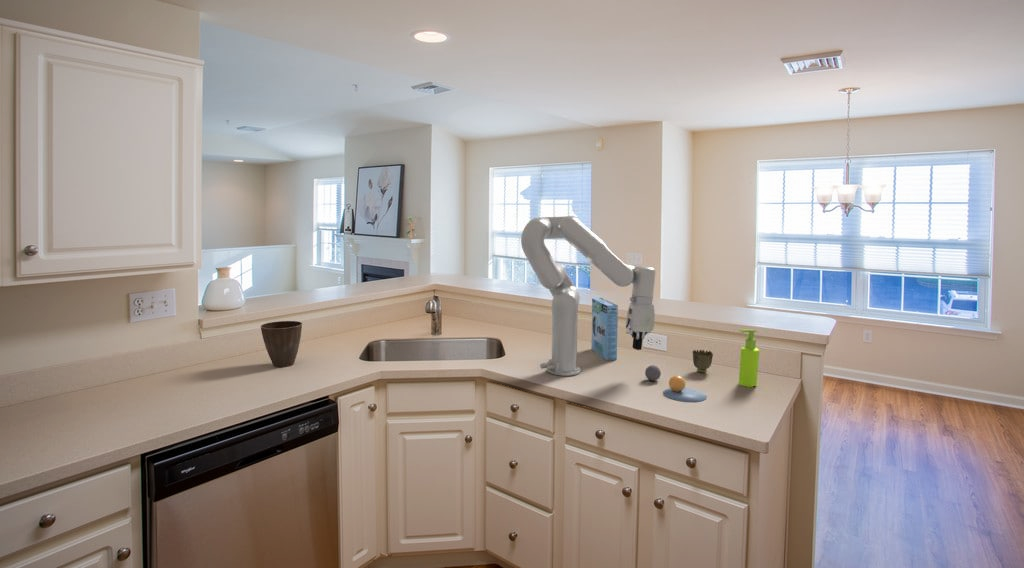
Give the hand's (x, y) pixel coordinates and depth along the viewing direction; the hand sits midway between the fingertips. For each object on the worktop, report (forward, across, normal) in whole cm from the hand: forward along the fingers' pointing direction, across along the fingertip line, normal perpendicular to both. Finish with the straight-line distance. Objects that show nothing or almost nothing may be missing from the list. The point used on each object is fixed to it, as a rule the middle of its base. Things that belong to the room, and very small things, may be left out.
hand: (636, 348), depth 207 cm
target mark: (+9, +2, -24) cm, 26 cm away
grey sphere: (+7, +2, -7) cm, 10 cm away
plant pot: (+19, -114, +72) cm, 136 cm away
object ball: (+7, +1, -20) cm, 21 cm away
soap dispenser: (+8, +30, -26) cm, 40 cm away
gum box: (+11, +8, +30) cm, 33 cm away
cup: (+9, +26, -8) cm, 29 cm away
